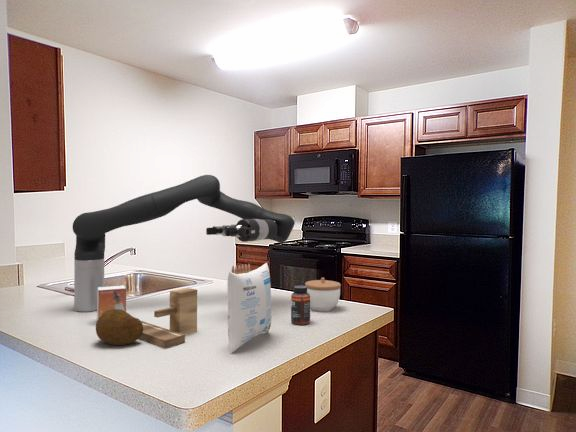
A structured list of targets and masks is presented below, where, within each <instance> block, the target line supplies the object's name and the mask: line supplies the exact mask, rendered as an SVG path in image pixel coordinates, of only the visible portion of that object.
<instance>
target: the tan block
mask: <svg viewBox="0 0 576 432" xmlns="http://www.w3.org/2000/svg"><path fill="white" fill-rule="evenodd" d="M153 316H154V318H162V317H165V316H169V330H172V331H175V332H178V333H181V334H184V335H185V336H187V335H190V334H193V333H196V332H198V289H196V288H192V287H184V288H183V287H182V288H178V289H174V290H169V307H166V308H162V309H158V310H154V315H153Z"/></svg>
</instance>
